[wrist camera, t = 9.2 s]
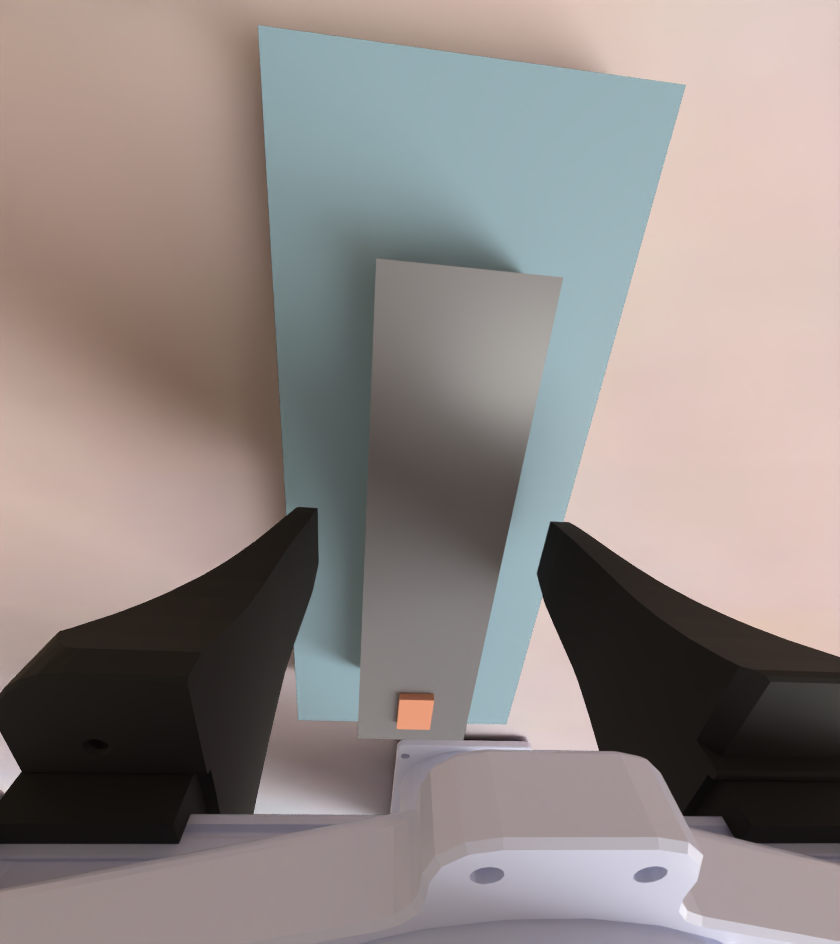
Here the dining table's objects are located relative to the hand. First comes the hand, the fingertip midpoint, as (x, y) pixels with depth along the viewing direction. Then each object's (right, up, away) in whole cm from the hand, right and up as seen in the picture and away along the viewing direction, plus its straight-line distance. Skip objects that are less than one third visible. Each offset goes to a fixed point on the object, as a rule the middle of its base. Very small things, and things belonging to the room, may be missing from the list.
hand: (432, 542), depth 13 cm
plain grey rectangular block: (0, +1, +4) cm, 4 cm away
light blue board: (0, +2, +4) cm, 5 cm away
